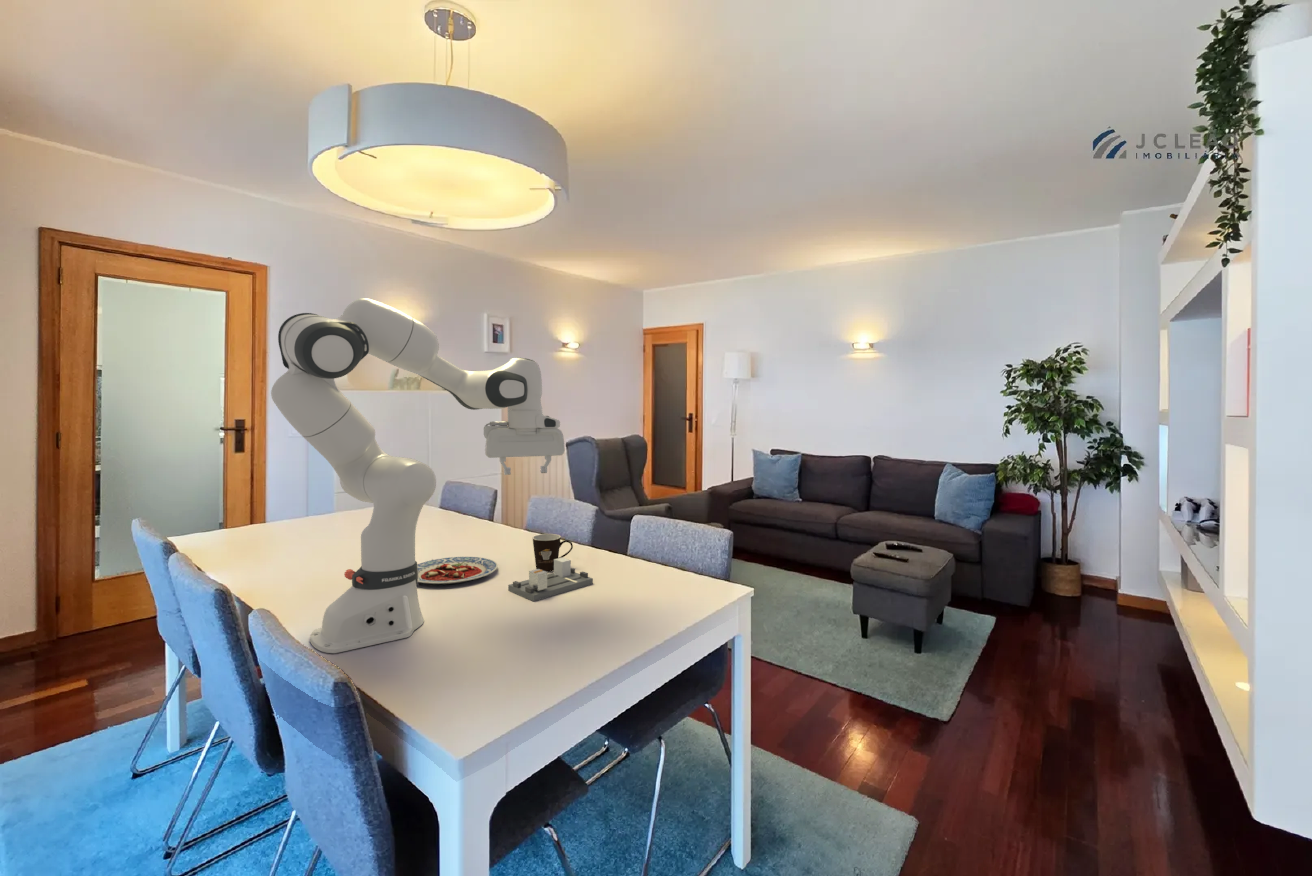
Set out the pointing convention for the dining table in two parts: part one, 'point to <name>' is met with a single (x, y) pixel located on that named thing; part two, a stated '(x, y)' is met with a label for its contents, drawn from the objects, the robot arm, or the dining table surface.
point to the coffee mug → (547, 550)
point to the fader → (538, 579)
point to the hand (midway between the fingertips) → (525, 473)
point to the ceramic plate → (454, 569)
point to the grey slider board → (553, 582)
